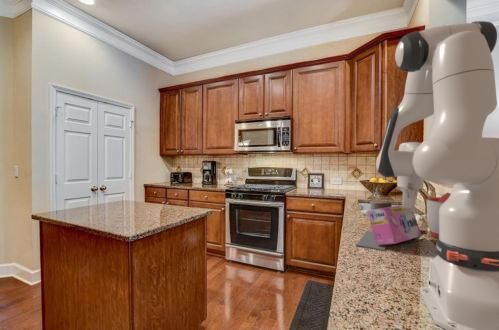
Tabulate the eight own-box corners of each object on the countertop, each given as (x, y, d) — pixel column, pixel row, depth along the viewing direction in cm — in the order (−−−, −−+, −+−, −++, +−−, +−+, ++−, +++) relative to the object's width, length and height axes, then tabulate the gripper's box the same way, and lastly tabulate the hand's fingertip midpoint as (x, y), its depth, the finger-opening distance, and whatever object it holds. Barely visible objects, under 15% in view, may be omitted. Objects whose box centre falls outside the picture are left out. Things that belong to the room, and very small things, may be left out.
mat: (384, 251, 91) (384, 249, 91) (356, 246, 97) (356, 244, 97) (391, 235, 110) (391, 234, 110) (367, 232, 116) (367, 231, 116)
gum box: (404, 237, 108) (395, 207, 112) (424, 235, 102) (413, 203, 106) (376, 245, 95) (366, 210, 99) (396, 243, 89) (384, 207, 93)
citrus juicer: (482, 240, 103) (482, 193, 103) (458, 245, 96) (457, 195, 96) (442, 230, 117) (441, 189, 117) (418, 235, 111) (418, 191, 111)
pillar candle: (396, 229, 120) (396, 199, 121) (381, 231, 117) (381, 200, 117) (380, 225, 130) (379, 197, 130) (366, 227, 126) (365, 198, 127)
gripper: (418, 186, 87) (418, 224, 87) (420, 180, 103) (419, 212, 104) (398, 185, 90) (397, 221, 91) (402, 179, 107) (402, 210, 107)
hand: (409, 216), depth 97 cm, fingers open, 8 cm apart
